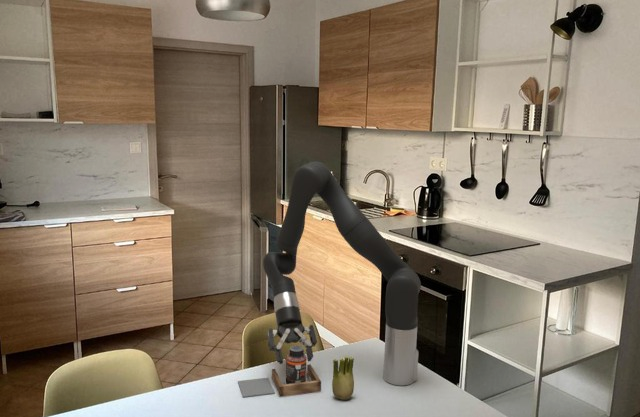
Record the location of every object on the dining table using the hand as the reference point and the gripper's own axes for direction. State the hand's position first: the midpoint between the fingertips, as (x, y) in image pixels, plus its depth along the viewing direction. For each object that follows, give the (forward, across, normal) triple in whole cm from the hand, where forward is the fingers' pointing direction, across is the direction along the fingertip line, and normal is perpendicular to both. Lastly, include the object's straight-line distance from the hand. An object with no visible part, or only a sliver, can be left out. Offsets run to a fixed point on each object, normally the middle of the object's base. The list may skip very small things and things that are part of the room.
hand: (295, 361), depth 155 cm
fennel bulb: (+12, +11, -2) cm, 17 cm away
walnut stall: (+5, 0, +5) cm, 7 cm away
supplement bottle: (+5, 0, +5) cm, 7 cm away
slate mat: (+4, -12, +5) cm, 13 cm away
